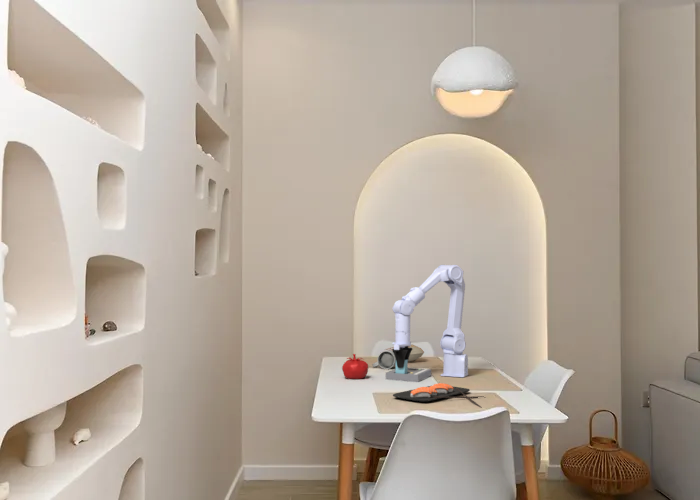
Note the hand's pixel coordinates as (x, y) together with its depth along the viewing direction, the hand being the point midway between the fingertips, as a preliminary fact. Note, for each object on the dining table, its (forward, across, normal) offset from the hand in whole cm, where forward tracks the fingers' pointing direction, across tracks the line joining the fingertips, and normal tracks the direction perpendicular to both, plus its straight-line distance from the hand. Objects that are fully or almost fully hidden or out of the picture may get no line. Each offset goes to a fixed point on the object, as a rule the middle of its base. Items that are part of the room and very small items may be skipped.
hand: (402, 367), depth 281 cm
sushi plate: (+5, +32, +28) cm, 43 cm away
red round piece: (+5, +6, -17) cm, 19 cm away
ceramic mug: (+5, -26, -16) cm, 31 cm away
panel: (+5, -5, +1) cm, 7 cm away
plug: (+3, 0, 0) cm, 3 cm away
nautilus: (+5, -49, -17) cm, 52 cm away
